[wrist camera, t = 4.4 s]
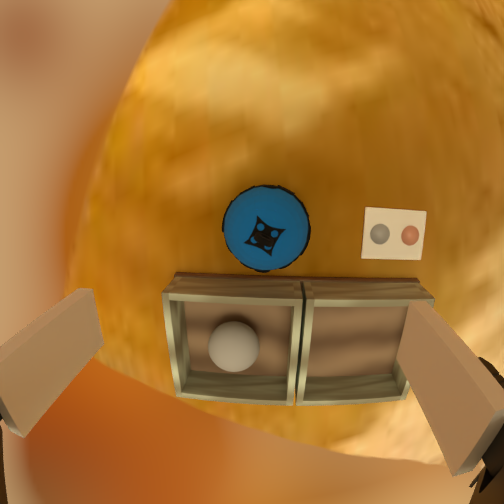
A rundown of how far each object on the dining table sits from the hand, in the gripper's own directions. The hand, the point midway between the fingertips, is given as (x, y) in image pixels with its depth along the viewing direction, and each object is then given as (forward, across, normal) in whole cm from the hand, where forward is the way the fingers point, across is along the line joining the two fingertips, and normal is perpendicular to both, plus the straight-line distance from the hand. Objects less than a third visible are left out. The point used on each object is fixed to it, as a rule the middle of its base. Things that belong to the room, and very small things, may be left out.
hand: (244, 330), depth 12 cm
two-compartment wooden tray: (+24, +4, -14) cm, 28 cm away
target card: (+24, +15, -1) cm, 28 cm away
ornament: (+24, 0, 0) cm, 24 cm away
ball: (+23, -3, -14) cm, 27 cm away
